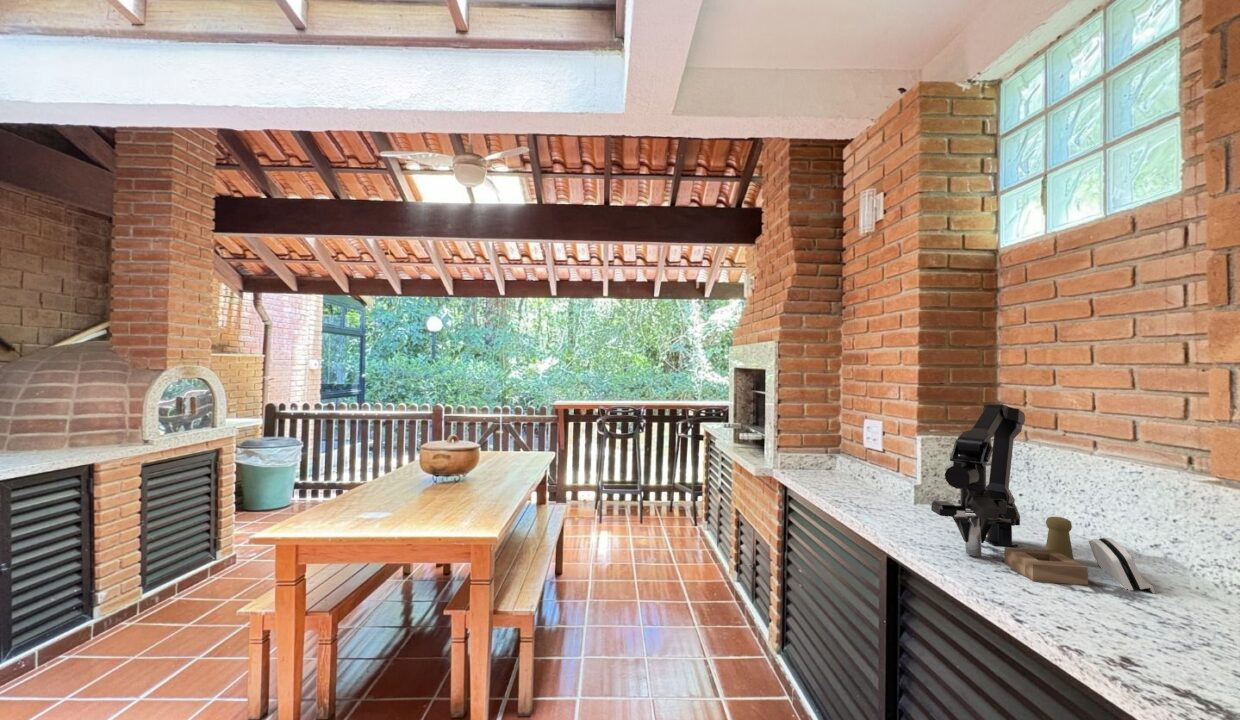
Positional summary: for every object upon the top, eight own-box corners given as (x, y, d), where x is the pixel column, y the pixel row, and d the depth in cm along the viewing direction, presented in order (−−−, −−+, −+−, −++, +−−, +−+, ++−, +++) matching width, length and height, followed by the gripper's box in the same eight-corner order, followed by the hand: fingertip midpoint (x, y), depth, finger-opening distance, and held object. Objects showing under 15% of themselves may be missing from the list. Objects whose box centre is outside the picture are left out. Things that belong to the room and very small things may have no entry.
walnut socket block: (1004, 563, 133) (1004, 547, 133) (1054, 566, 131) (1054, 550, 131) (1033, 581, 122) (1032, 564, 122) (1088, 584, 120) (1087, 567, 120)
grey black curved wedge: (1156, 594, 115) (1136, 549, 117) (1130, 597, 117) (1110, 553, 119) (1124, 568, 130) (1106, 529, 132) (1100, 572, 132) (1083, 532, 134)
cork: (1047, 561, 135) (1047, 518, 135) (1041, 554, 140) (1041, 513, 140) (1077, 565, 132) (1077, 522, 132) (1070, 558, 137) (1070, 516, 137)
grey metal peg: (963, 551, 140) (962, 513, 140) (977, 551, 140) (977, 514, 140) (969, 555, 137) (969, 517, 137) (984, 556, 136) (984, 518, 136)
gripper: (949, 488, 132) (949, 550, 132) (1030, 492, 129) (1031, 555, 129) (930, 479, 143) (930, 536, 143) (1004, 482, 140) (1005, 540, 140)
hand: (973, 542), depth 138 cm, fingers closed on grey metal peg, 3 cm apart
